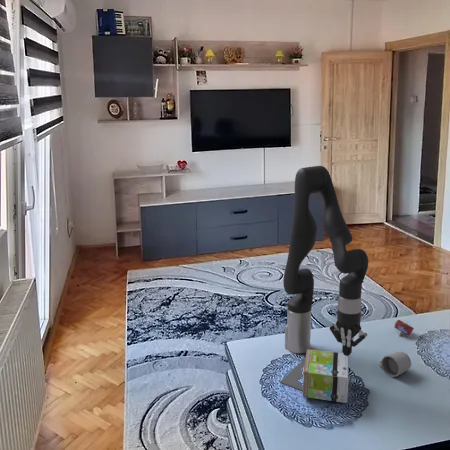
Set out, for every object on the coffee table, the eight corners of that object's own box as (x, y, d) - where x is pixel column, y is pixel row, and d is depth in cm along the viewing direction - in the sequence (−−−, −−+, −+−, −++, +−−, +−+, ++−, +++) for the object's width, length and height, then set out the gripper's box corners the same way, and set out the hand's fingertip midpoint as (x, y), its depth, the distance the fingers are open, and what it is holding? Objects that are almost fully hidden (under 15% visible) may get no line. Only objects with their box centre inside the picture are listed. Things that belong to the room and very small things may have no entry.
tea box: (349, 377, 157) (302, 372, 161) (347, 403, 160) (302, 398, 163) (348, 352, 171) (305, 348, 175) (347, 377, 174) (305, 372, 178)
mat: (279, 382, 174) (279, 381, 174) (306, 357, 189) (306, 356, 189) (315, 396, 166) (315, 395, 166) (340, 369, 181) (340, 368, 181)
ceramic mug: (412, 373, 178) (413, 353, 176) (398, 380, 173) (399, 361, 171) (387, 361, 186) (388, 342, 184) (373, 368, 182) (374, 349, 180)
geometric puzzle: (418, 329, 205) (407, 313, 205) (415, 336, 199) (404, 319, 200) (403, 335, 209) (393, 319, 209) (400, 342, 203) (389, 326, 204)
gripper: (325, 307, 163) (324, 353, 168) (364, 317, 155) (361, 365, 160) (335, 299, 169) (333, 344, 173) (372, 308, 161) (369, 355, 166)
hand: (346, 354), depth 167 cm, fingers closed
